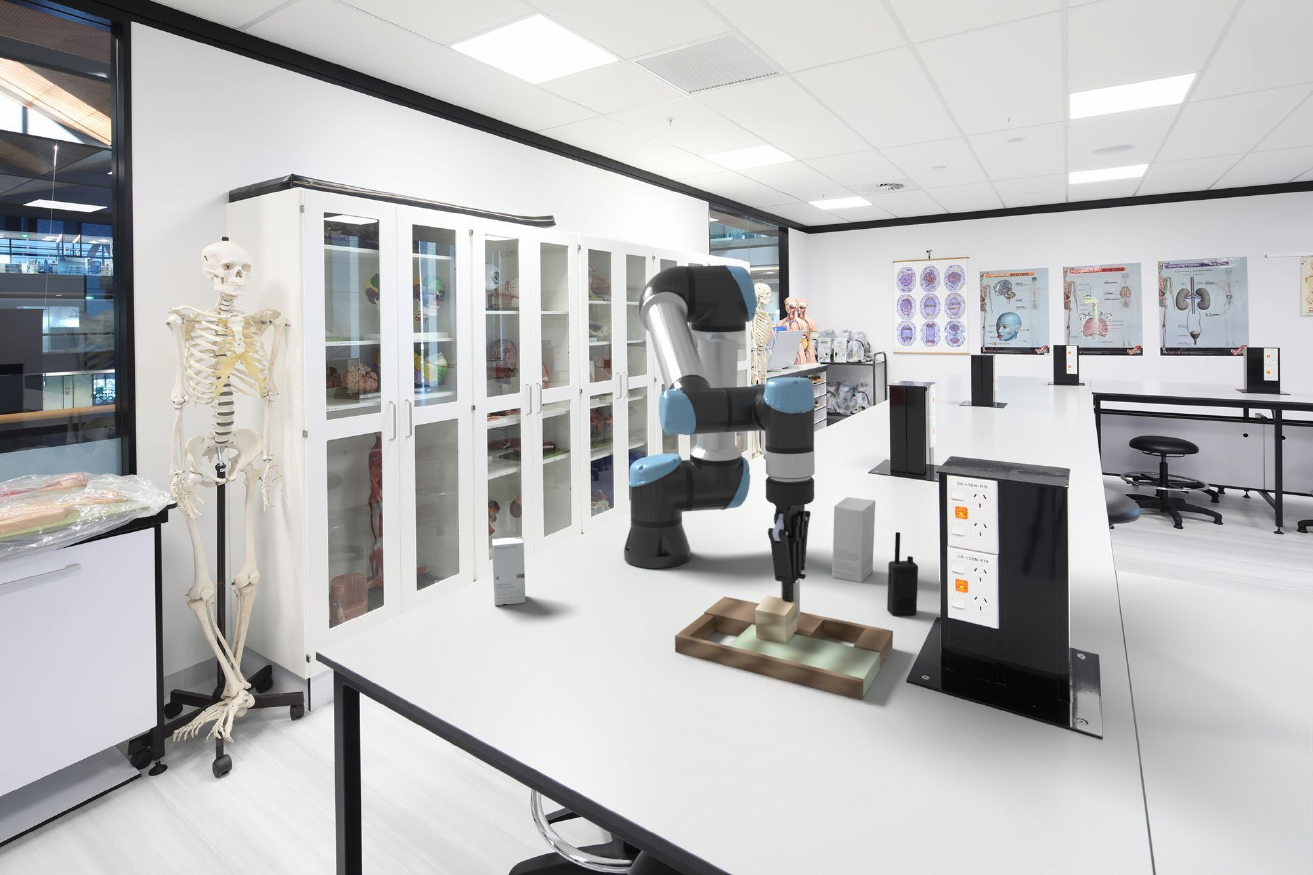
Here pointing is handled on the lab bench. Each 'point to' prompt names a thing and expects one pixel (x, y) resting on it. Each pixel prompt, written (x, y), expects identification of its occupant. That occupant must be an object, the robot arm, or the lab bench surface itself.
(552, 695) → the lab bench surface
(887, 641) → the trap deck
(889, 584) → the walkie-talkie
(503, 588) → the skincare box
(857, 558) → the skincare box
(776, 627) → the block
